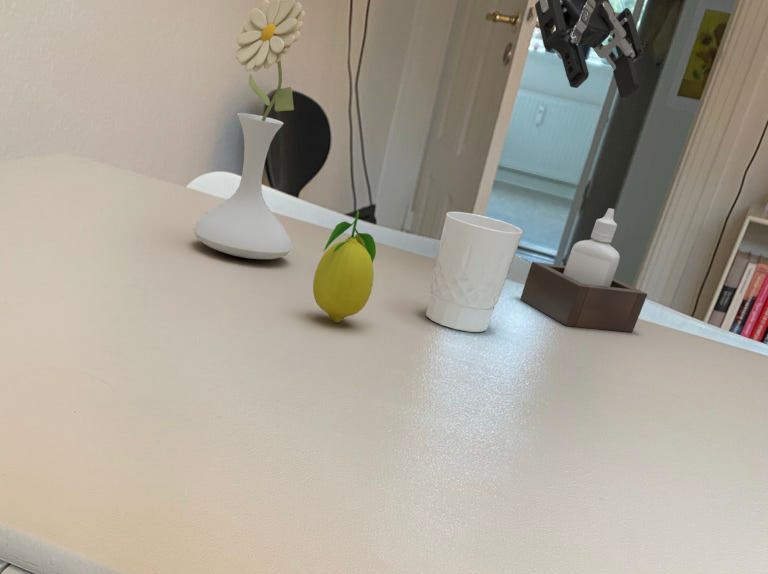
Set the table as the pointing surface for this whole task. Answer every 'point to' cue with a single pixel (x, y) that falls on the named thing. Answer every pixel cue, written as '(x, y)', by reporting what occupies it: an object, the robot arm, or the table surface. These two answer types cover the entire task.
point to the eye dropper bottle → (595, 255)
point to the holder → (582, 299)
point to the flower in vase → (256, 142)
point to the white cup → (471, 270)
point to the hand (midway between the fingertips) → (605, 88)
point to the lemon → (345, 273)
